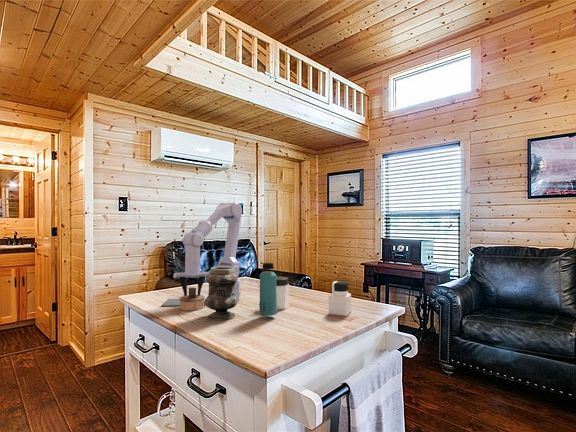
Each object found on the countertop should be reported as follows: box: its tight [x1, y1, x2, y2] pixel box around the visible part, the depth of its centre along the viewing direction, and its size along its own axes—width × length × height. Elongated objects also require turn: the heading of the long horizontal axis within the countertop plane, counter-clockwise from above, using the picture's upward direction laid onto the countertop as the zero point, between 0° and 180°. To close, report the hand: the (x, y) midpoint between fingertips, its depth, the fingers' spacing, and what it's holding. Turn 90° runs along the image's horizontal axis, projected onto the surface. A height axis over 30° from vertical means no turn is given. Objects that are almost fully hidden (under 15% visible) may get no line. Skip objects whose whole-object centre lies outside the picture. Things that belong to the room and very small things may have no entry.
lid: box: [179, 287, 205, 302], centre depth 134 cm, size 10×10×4 cm
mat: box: [160, 298, 180, 308], centre depth 142 cm, size 12×12×1 cm
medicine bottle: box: [328, 280, 352, 317], centre depth 127 cm, size 7×7×12 cm
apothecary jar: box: [204, 266, 239, 321], centre depth 122 cm, size 12×12×18 cm
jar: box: [276, 275, 290, 310], centre depth 136 cm, size 9×8×12 cm
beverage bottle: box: [258, 262, 278, 317], centre depth 121 cm, size 6×7×20 cm
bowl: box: [179, 299, 205, 312], centre depth 134 cm, size 9×9×4 cm
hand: (192, 295), depth 134 cm, fingers open, 5 cm apart
